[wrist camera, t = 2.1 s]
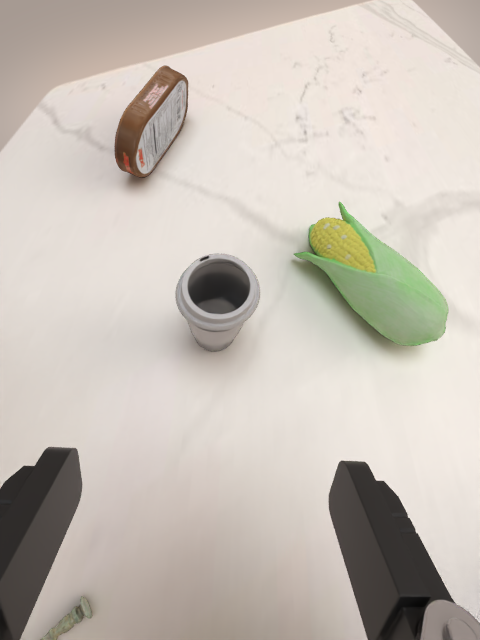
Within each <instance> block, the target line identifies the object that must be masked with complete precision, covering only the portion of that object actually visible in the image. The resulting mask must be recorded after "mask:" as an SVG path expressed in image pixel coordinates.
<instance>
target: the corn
mask: <svg viewBox="0 0 480 640" xmlns="http://www.w3.org/2000/svg"><path fill="white" fill-rule="evenodd" d="M339 208H340V212H341V215H342V218H343V220H341V219H335V218H327V217H326V218H325V219H324V218H323V219H321V220H319V221H318V222H317V224H313V225H311V226H310V232H309V242H310V245H311V246H312V248H313V250H314V252H315V254H316V255H314V254H312V253H310V252H302V253H294V255H295V256H297V257H298V258H300V259H304V260H308V261H310V262H312V263H314V264H315V265H317V266H318V267H320V268H321V269H322V270H324V271H325V272H326V273H327V275H328V276H329V278H330V279H331V281H332V282H333V284H334V285H335V286H336V288H337V289H338V290H339V292H340V293H341V295H342V296H343V297H344V298H345V300H346V301H347V302H348V304H349V305H350V306H351V307H352V309H353V310H354V311H356V312H357V313H358V314H359V315H360V316H361V317H362V318H363V319H364V320H366V321H367V322H368V323H369V324H370V325H371V326H372V327H373V328H375V329H376V330H377V331H378V332H379V333H380V334H382V335H383V336H384V337H386V338H388V339H390V340H391V341H393V342H394V343H396V344H399V345H404V346H414V345H420V344H424V343H428V342H431V341H436V340H438V339H439V338H440V337H441V336H442V335H443V334H444V333H445V329H446V327H445V323H446V320H447V314H448V305H447V302H446V300H445V298H444V297H443V295H442V294H441V293H440V291H439V290H438V289H437V288H436V287H435V286H434V285H433V284H432V283H431V282H430V281H429V280H428V279H427V278H426V277H425V275H424V274H423V273H422V272H421V271H420V270H419V269H418V268H417V267H415V266H414V265H413V264H411V263H410V262H409V261H408V260H407V259H405V258H404V257H403V256H401V255H400V254H399V253H397V252H396V251H395V250H393V249H392V248H390V247H389V246H387V245H386V244H384V243H383V242H381V241H380V240H378V239H377V238H376V237H374V236H373V235H372V234H371V233H370V232H369V231H368V230H367V229H365V228H364V227H363V226H362V225H361V224H360V223H359V222H358V221H357V220H356V219H355V218H354V217H352V216H351V215H350V214H349V213H348V212H347V211H346V209H345V207H344V206H343V204H342V203H341V202H339Z"/></svg>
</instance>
